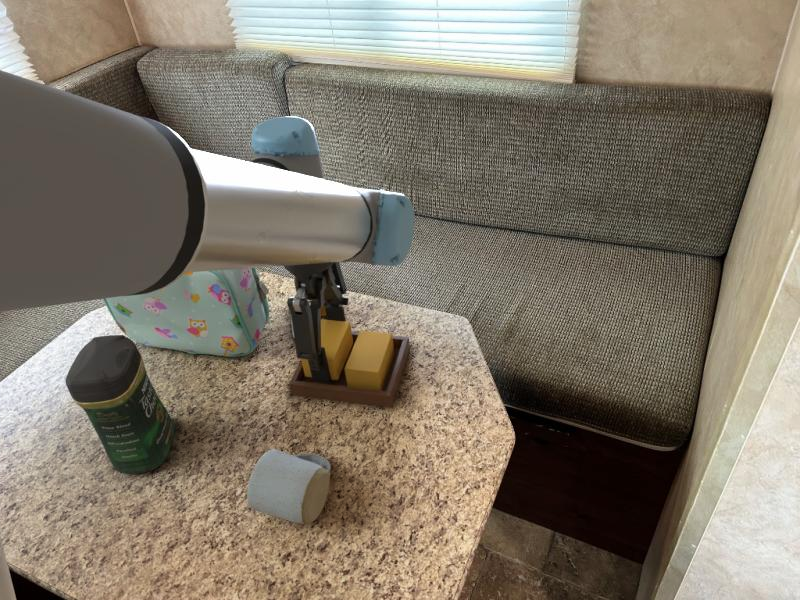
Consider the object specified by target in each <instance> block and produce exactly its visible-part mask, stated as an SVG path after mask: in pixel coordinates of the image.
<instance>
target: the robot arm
mask: <svg viewBox="0 0 800 600" xmlns="http://www.w3.org/2000/svg"><path fill="white" fill-rule="evenodd" d="M250 139H251V150H252V153H253V155H254V157H253V159H251V160H250V161H245V160H242V159H237V158H233V157H229V156H225V155H220V154H216V153H211V152H207V151H204V150H199V149H196V148H191V147H190V146H189V145H188V143H187V142H186V141H185V140H184V139H183V137H181V136H180V135H179V134H178V133H177V132H176V131H174V130H173V129H172V128H170V127H169V126H167V125H166V124H163V123H162V122H160V121H157V120H154V119H151V118H148V117H145V116H141V115H138V114H133V113H131V112H127V111H124V110H121V109H118V108H115V107H113V106H109V105H106V104H104V103H100V102H98V101H95V100H92V99H89V98H86V97H83V96H80V95H77V94H74V93H71V92H68V91H65V90H62V89H59V88H56V87H53V86H50V85H47V84H44V83H41V82H39V81H35V80H32V79H29V78H26V77H23V76H20V75H17V74H13V73H11V72H7V71H5V70H1V69H0V312H9V311H17V310H19V311H20V310H27V309H34V308H36V309H37V308H44V307H51V306H52V307H53V306H59V305H66V304H67V305H68V304H73V303H82V302H88V301H96V300H103V299H104V298H112V297H119V296H131V295H141V294H147V293H152V292H155V291H158V290H161V289H164V288H166V287H167V286H169V285H171V284H173V283H174V282H175V281H177V280H178V279H179V278H180V277H181V276H182V275H183V274H184V273H186V272H201V271H215V270H229V269H244V268H256V269H257V268H258V269H259V268H271V267H283V268H284V269H285V270H286V271H288V272H289V273H290V274H292V275H293V276H294V279H295V284H294V288H295V287H296V288H295V291H296V290H297V292H296V294H295V296H294V297H291V296H290V297H288V298H287V300H286V304H287V308H288V310H289V314H290V313H291V315H290V319H291V318H292V323H291V326H292V325H293V332H294V337H293V339H294V345H295V353H296V358H297V359H298V360H299V359H300V360H301V359H307V360H308V363H309V367H310V371H311V375H312V379H313V380H314V381H322V382H330V381H331V376H330V371H329V367H328V362H327V357H326V352H325V348H324V347H321V307H322V306H323V305H324V299H325V301H326V302H327V304H330V306H328V305H327V306H326V308H325V311H326V315H327V320H334V321H345V322H347V321H346V314H345V309H344V306H348V305H349V297H344V296H343V295H347V293H348V290H347V285H346V282H345V278H344V274H343V271H342V267H341V264H340V263H360V264H366V265H371V266H373V267H374V266H375V267H377V266H384V267H385V266H386V267H397V266H399V265H401V264H402V263H403V262H404V261H405V260H406V258H407V257H408V255H409V253H410V251H411V247H412V245H413V244H412V243H413V239H414V238H413V237H414V233H415V211H414V207H413V206H414V205H413V204H412V201H411V200H410V198H409V197H408V196H407V195H405V194H404V193H399V192H393V191H386V190H385V189H369V188H361V187H355V186H351V185H348V184H342V183H340V182H335V181H331V180H326V179H325V178H324V172H323V165H322V159H321V158H322V157H321V149H320V146H319V143H318V139H317V135H316V132H315V128H314V126H313V124H312V123H311V122H310V121H308V119H305V118H302V117H299V116H291V115H290V116H289V115H286V116H285V115H284V116H278V117H277V116H276V117H273V118H269V119H266V120H264V121H262V122H260V123H258V124H257V125H256V126H255V127H254V128H253V129H252V131H251V135H250ZM306 298H307V299H317V301H311V300H307V299H306ZM293 332H292V333H293ZM0 600H17V597H16V593H15V589H14V584H13V581H12V576H11V573H10V568H9V565H8V561H7V556H6V552H5V548H4V544H3V541H2V537H1V535H0Z"/></svg>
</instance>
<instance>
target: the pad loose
mask: <svg viewBox="0 0 800 600" xmlns="http://www.w3.org/2000/svg"><path fill="white" fill-rule="evenodd" d="M352 331H353V330H352V326H351V322H350V321H346V322H345V321H334V320H325V319H321V347H324V348H325V352H326V357H327V362H328V367H329V371H330V376H331V380H338V378H339V376H340V373H341V371H342V369H343V366H344V364H345V361H346V359H347V357H348V354H349V352H350V349H351V347H352V345H353V337H352ZM300 360H301V361H302V365H303V369H304V373H305V376H306V377H312V375H311V371H310V367H309V363H308V360H307V359H300Z"/></svg>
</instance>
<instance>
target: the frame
mask: <svg viewBox="0 0 800 600" xmlns="http://www.w3.org/2000/svg"><path fill="white" fill-rule="evenodd" d="M351 331H352V337H353V345H352V347H351V349H350V352H349V354H348V357H347V359H346V361H345V364H344V366H343V369H342V371H341V373H340V376H339V378H338V380H331V381H330V382H322V381H314V380H313V379H312V377H306V376H305V373H304V369H303V365H302V361H301V359H300V360H299V362H298V365H297V366H296V369H295V371H294V373H293V375H292V377H291V379H290V380H289V382H288V387H289V390H290V393H291V396H294V397H302V398H311V399H317V400H324V401H325V400H326V401H334V402H341V403H349V404H358V405H364V406H371V407H373V406H374V407H380V408H387V409H392V407H393V406H394V405H393V404H394V401H395V398H396V395H397V392H398V389H399V385H400V383H401V379H402V376H403V373H404V369H405V366H406V364H407V363H406V362H407V359H408V357H409V353H410V350H411V346H410V345H411V344H410V336H402V335H393V334H392V337H393V345H394V353H395V354H394V357H393V360H392V363H391V366H390V369H389V372H388V375H387V378H386V381H385V384H384V387H383V390H382V391H375V390H367V389H359V388H351V387H348V384H347V379H346V374H345V366H346V364H347V361H348V359H349V356H350V354H351V352H352V349H353V347H354V344H355V342H356V339H357V337H358V335H359V332H360V331H354V330H351Z"/></svg>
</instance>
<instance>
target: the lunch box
mask: <svg viewBox="0 0 800 600" xmlns="http://www.w3.org/2000/svg"><path fill="white" fill-rule="evenodd" d="M269 294H270V290H269V289H268V286H267V285H266V283H265V282H264V281H263V280H261V277H260V275H259V273H258V269H257V268H244V269H229V270H215V271H201V272H186V273H184V274H183V275H182V276H181V277H180V278H179V279H178V280H177V281H175V282H174V283H173V284H171V285H169V286H167V287H166V288H164V289H161V290H158V291H155V292H152V293H147V294H141V295H131V296H119V297H112V298H104V299H102V300H103V302H104V304H105V306H106V308H107V310H108V311H109V313H110V315H111V317H112V319H113V320H114V322H115V324H116V325H117V327H118V328H119V330H120V331H121V332H122V333H123V335H124V336H125V335H126V337H128V338H129V339H131V340H132V341H135V342H137V343H140V344H142V345H143V346H147V347H154V348H160V349H169V350H175V351H180V352H185V353H188V354H190V355H191V354H192V355H213V356H219V357H227V358H233V357H235V358H237V357H244V356H247V355H249V354H252V353H253V352H254V350H255V349H256V347H257V344H258V340H259V338H260V336H261V334H262V332H263V330H264V327H265V326H266V325H267V324H268V322H269V319H270V306H269V302H268V301H269V300H268V297H267V295H269Z"/></svg>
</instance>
